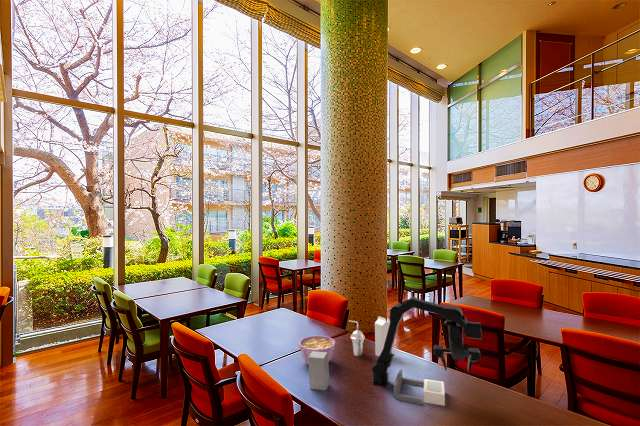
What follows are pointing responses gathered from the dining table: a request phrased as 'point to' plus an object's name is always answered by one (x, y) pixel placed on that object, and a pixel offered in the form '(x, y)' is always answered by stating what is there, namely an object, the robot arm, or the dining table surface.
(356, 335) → the cup with straw
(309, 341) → the bowl of food
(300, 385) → the dining table surface
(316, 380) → the skincare box
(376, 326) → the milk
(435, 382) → the carton
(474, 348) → the robot arm
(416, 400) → the display stand
